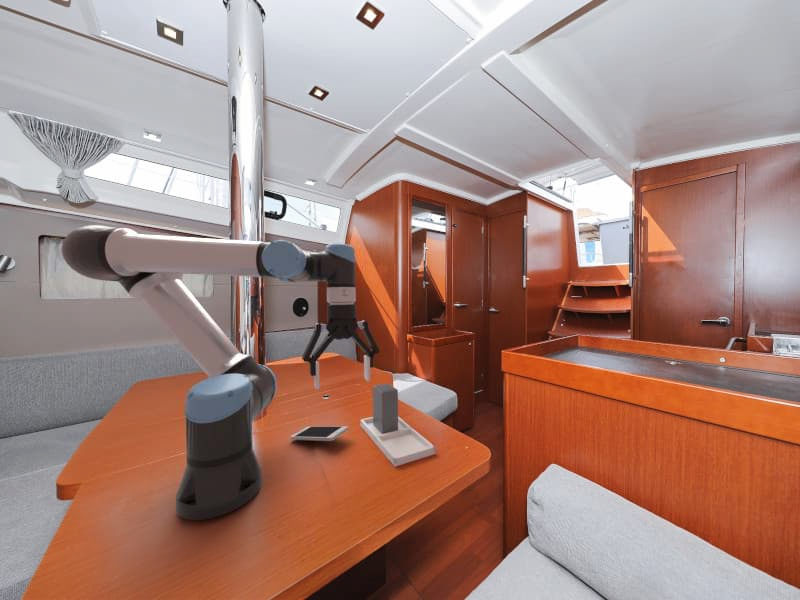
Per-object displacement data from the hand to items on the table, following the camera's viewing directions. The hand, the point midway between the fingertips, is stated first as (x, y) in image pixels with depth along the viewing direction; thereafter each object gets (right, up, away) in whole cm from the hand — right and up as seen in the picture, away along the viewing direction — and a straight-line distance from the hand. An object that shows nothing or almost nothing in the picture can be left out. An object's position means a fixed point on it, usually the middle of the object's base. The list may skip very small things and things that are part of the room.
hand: (343, 383), depth 75 cm
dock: (+13, -17, +4) cm, 22 cm away
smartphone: (-1, -16, 0) cm, 16 cm away
